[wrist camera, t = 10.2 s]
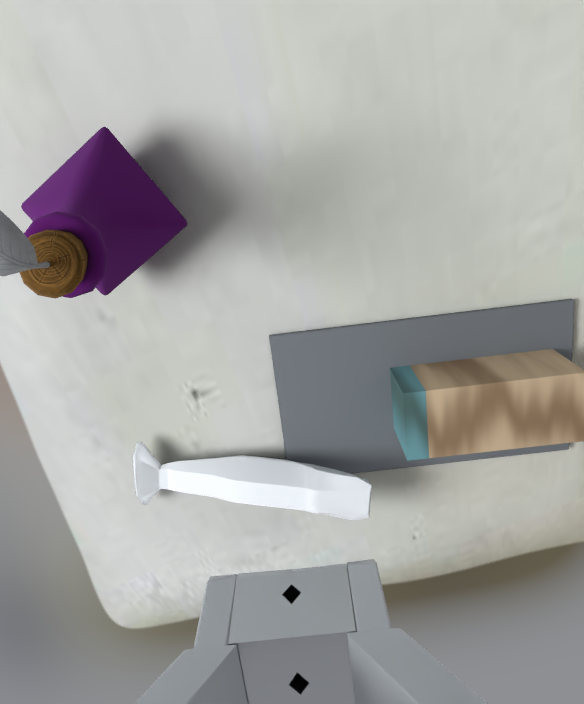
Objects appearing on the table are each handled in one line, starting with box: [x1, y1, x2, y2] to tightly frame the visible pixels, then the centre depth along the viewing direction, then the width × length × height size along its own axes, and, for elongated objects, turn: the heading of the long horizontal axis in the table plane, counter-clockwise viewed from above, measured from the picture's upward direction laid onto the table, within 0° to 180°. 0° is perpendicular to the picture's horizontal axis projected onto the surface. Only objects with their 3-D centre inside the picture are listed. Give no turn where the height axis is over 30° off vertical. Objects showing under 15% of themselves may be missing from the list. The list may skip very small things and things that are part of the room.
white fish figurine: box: [133, 442, 372, 520], centre depth 42 cm, size 6×18×4 cm, turn 89°
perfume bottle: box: [0, 127, 187, 298], centre depth 30 cm, size 8×8×18 cm
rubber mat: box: [269, 299, 574, 474], centre depth 42 cm, size 12×22×1 cm, turn 97°
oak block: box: [390, 349, 584, 461], centre depth 40 cm, size 5×5×12 cm
